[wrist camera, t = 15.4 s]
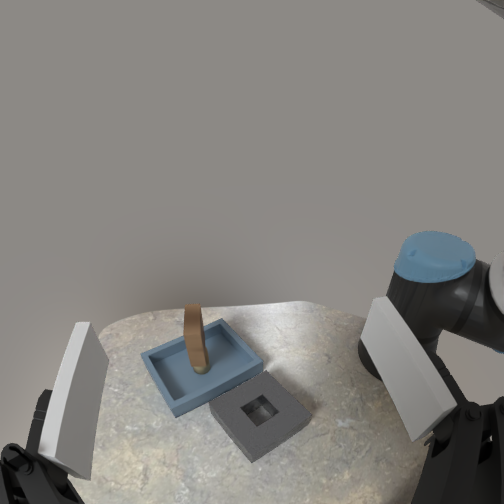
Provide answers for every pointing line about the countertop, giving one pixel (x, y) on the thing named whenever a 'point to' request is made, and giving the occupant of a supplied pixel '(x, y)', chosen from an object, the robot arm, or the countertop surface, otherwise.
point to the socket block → (250, 398)
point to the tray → (195, 385)
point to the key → (195, 339)
